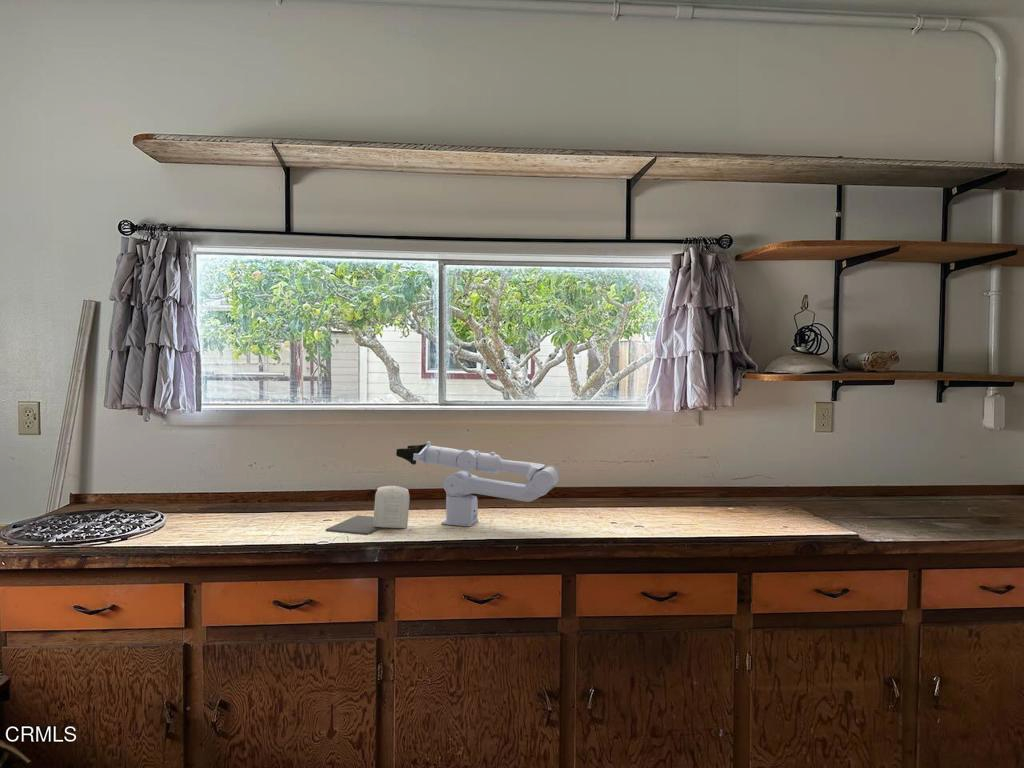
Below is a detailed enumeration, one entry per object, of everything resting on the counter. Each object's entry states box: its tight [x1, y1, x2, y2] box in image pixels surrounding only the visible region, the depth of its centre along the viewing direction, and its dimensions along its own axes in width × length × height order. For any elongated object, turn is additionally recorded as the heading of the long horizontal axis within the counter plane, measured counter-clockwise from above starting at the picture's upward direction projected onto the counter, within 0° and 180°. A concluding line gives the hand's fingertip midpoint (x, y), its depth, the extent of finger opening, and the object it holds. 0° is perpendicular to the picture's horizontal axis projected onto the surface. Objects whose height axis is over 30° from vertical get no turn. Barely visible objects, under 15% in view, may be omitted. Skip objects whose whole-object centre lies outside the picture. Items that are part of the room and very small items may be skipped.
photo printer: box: [373, 485, 411, 529], centre depth 190 cm, size 10×4×12 cm, turn 98°
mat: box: [325, 514, 383, 536], centre depth 193 cm, size 14×18×1 cm
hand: (402, 450), depth 201 cm, fingers open, 7 cm apart
